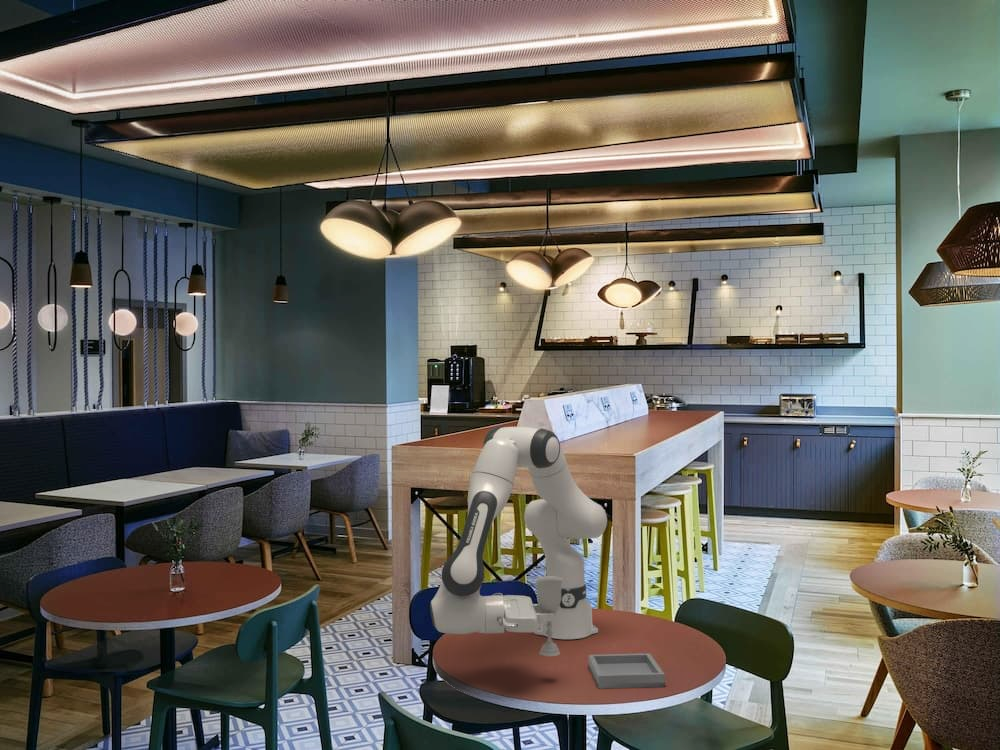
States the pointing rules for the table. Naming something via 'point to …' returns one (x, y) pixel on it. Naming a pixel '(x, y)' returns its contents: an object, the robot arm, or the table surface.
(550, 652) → the chalice
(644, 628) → the table surface
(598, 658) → the tray
